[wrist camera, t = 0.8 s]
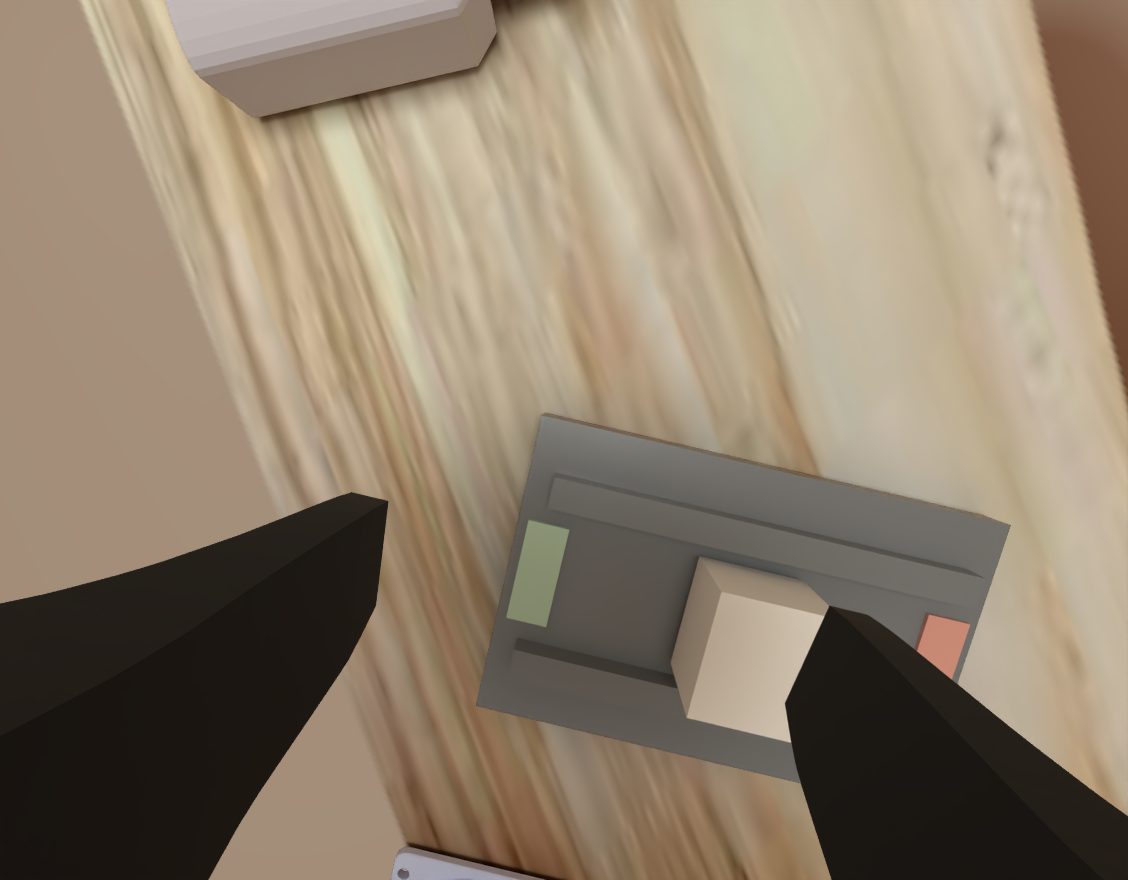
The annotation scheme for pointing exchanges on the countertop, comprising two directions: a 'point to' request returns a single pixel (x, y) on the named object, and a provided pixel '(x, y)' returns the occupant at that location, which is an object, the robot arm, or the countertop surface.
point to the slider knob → (743, 646)
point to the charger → (326, 46)
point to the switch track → (666, 570)
